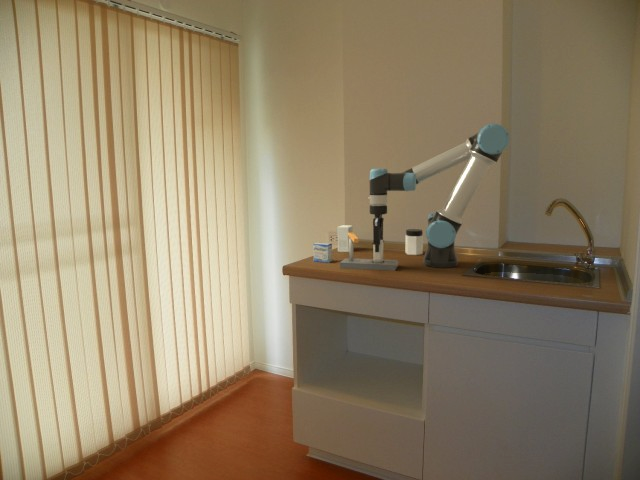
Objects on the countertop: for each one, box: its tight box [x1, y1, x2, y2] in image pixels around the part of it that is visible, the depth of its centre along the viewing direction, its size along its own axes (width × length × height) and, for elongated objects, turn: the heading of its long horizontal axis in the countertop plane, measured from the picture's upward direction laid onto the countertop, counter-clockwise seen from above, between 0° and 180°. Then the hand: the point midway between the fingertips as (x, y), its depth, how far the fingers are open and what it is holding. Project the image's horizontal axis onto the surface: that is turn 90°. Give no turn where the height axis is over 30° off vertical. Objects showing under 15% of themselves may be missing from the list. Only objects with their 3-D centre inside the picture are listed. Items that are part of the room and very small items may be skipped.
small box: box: [336, 224, 354, 253], centre depth 259 cm, size 8×6×13 cm
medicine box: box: [312, 242, 333, 264], centre depth 232 cm, size 8×4×9 cm, turn 62°
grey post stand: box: [339, 237, 399, 272], centre depth 215 cm, size 24×10×14 cm, turn 74°
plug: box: [372, 238, 384, 263], centre depth 214 cm, size 4×4×13 cm
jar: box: [404, 228, 424, 256], centre depth 247 cm, size 9×8×12 cm
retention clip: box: [348, 232, 359, 244], centre depth 209 cm, size 17×3×2 cm, turn 4°
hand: (378, 258), depth 215 cm, fingers closed on plug, 4 cm apart
